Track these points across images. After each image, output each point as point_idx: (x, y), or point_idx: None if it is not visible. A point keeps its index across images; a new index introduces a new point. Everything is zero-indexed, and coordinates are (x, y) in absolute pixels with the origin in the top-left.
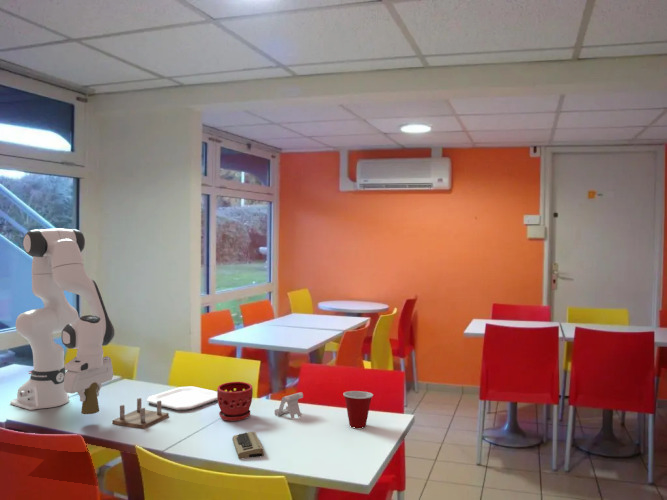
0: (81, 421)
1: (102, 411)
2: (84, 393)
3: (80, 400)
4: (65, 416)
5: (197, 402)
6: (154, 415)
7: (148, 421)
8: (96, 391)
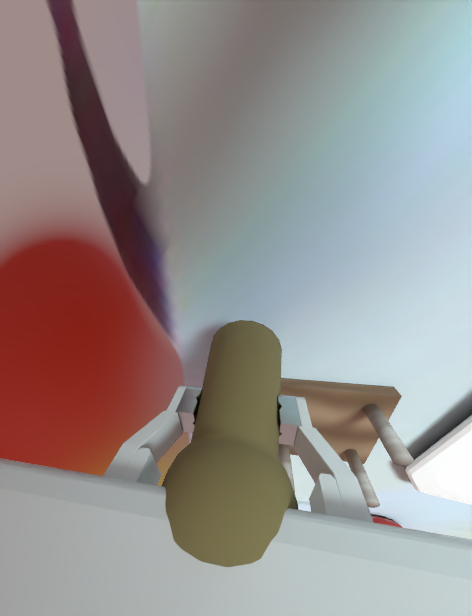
0: (256, 281)
1: (395, 268)
2: (194, 432)
3: (179, 389)
4: (290, 146)
5: (463, 496)
6: (339, 447)
7: (291, 450)
8: (296, 441)
